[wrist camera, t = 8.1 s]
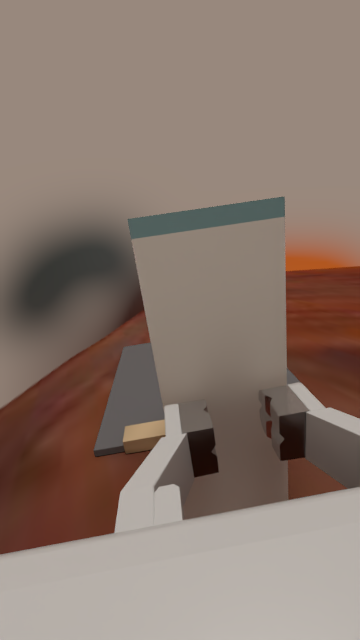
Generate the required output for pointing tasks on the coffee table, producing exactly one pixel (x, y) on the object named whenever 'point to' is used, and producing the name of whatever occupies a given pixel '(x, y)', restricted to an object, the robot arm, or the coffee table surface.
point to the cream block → (220, 335)
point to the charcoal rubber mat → (134, 398)
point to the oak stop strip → (143, 436)
